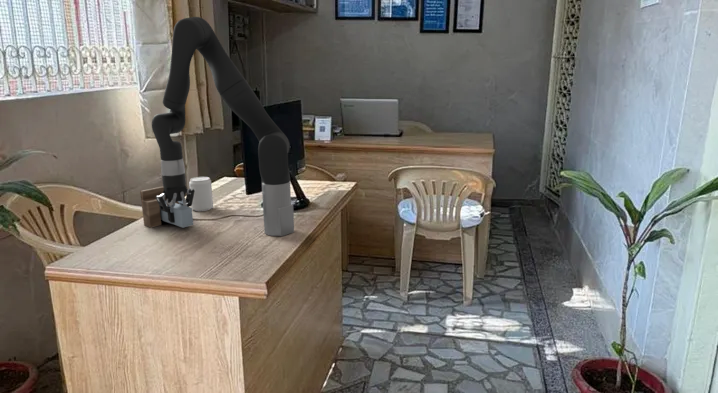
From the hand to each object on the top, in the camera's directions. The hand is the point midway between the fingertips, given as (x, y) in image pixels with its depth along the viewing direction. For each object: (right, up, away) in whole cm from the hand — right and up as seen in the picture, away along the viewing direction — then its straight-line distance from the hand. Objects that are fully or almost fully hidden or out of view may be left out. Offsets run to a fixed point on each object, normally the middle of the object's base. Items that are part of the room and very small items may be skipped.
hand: (178, 220), depth 184 cm
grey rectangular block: (-2, -1, +1) cm, 2 cm away
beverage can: (+2, +3, +22) cm, 22 cm away
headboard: (-7, -1, +6) cm, 10 cm away
